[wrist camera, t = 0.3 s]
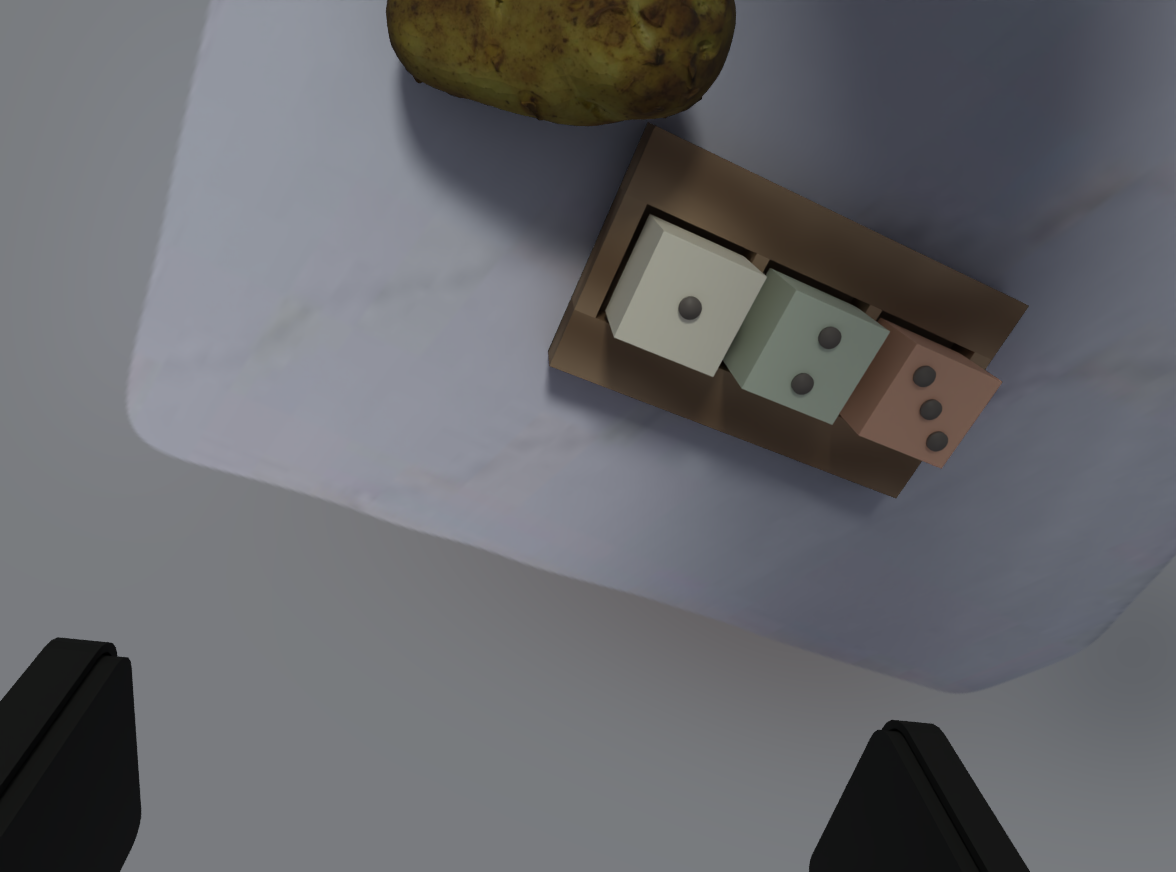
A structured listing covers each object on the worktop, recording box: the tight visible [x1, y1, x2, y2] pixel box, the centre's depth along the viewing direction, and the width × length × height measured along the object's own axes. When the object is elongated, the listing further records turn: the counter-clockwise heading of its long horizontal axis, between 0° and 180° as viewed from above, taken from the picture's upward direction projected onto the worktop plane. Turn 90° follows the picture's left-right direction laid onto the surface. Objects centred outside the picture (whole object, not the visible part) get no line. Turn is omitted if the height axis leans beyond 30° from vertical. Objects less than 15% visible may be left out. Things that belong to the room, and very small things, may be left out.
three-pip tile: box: [839, 318, 1002, 469], centre depth 38 cm, size 5×5×4 cm
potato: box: [386, 0, 736, 126], centre depth 29 cm, size 8×13×8 cm, turn 70°
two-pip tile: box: [723, 268, 890, 425], centre depth 36 cm, size 5×5×4 cm
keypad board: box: [548, 122, 1029, 498], centre depth 39 cm, size 12×21×2 cm, turn 66°
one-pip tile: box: [605, 214, 767, 377], centre depth 35 cm, size 5×5×4 cm
